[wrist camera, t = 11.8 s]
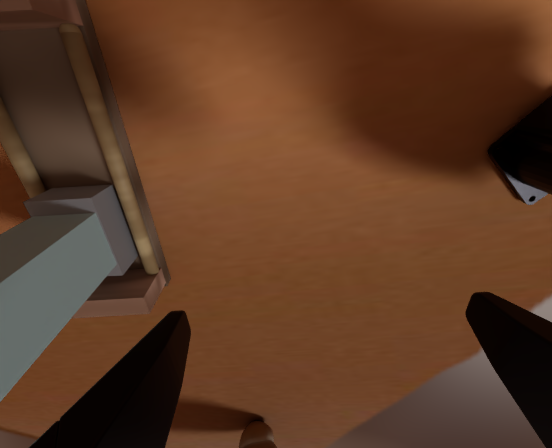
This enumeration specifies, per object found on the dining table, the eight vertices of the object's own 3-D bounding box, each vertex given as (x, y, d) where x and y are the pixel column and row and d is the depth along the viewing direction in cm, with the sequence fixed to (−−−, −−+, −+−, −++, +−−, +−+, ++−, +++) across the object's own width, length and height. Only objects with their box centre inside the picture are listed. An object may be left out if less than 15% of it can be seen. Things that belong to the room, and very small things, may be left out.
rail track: (-44, 1, 15) (-161, -30, 11) (83, -7, 14) (13, -41, 11) (93, 283, 24) (58, 323, 20) (170, 278, 24) (151, 317, 20)
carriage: (52, 188, 18) (-349, 379, 6) (112, 184, 18) (-179, 368, 6) (86, 258, 21) (-150, 482, 9) (138, 255, 21) (-31, 476, 9)
